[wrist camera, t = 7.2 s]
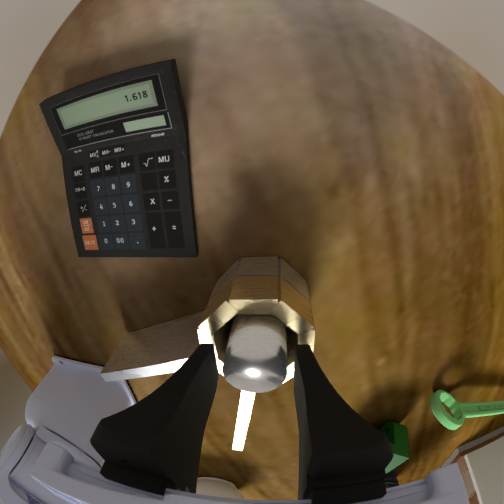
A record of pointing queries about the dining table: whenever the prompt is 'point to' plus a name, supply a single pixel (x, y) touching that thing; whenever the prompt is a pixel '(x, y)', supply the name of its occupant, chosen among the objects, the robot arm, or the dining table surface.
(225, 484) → the lidded jar
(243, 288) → the tan ring with arms
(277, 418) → the dining table surface
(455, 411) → the wrench
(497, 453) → the grey boxy piece
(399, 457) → the clamp
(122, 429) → the robot arm
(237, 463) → the dining table surface
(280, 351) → the hinge pin
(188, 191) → the calculator
